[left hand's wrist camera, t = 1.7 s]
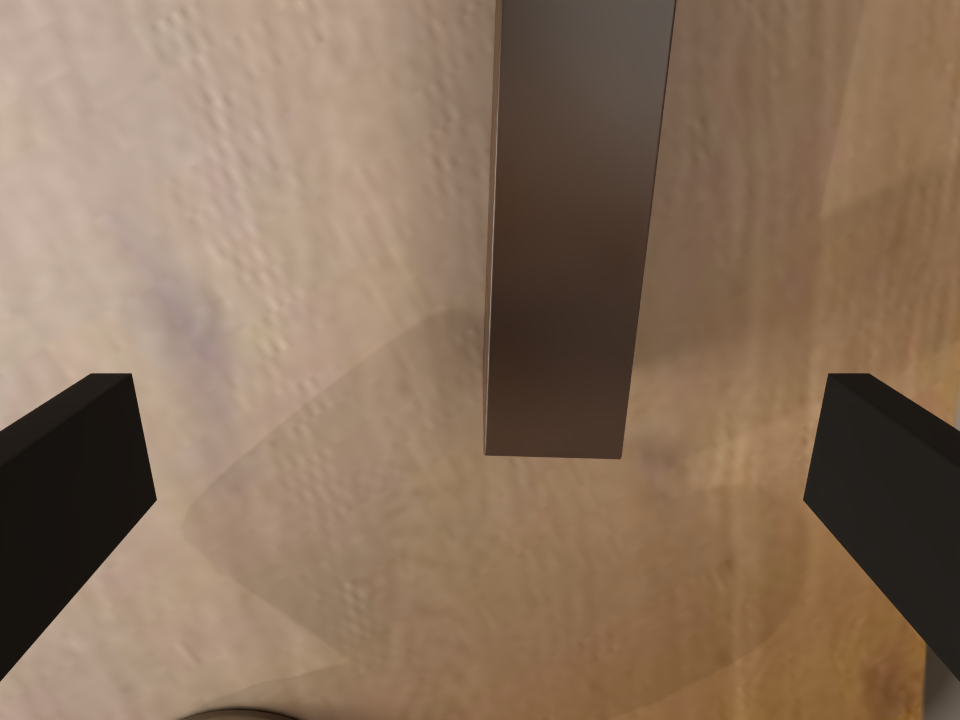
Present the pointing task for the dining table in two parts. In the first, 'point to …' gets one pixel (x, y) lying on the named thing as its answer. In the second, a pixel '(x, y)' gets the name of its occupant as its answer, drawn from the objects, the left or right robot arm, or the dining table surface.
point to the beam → (569, 218)
